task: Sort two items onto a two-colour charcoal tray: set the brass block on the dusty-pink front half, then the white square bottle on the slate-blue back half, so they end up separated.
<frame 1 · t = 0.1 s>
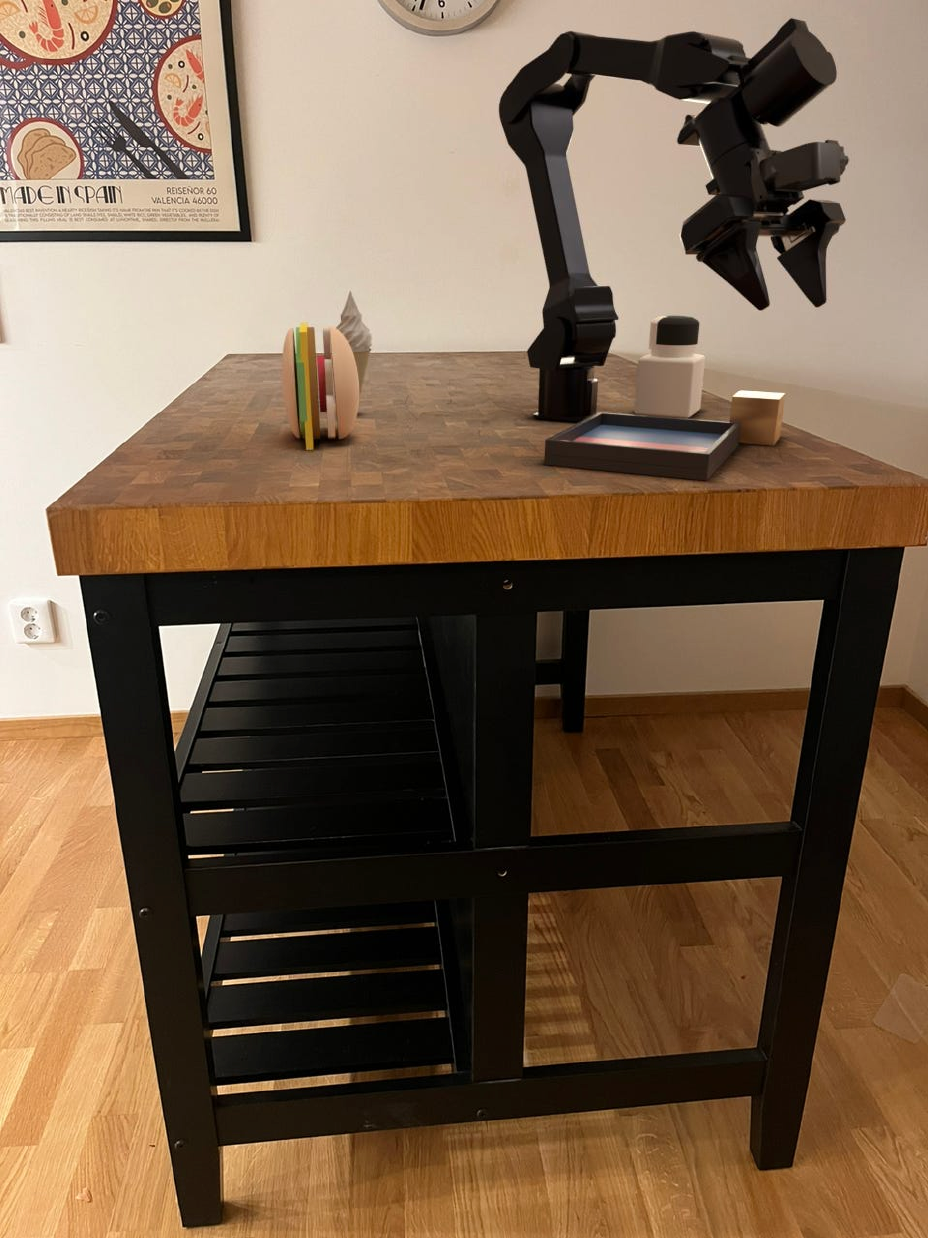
hand: (793, 306, 89), 15 cm above the table, tool tilted 30°, fingers open, 9 cm apart
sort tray: (645, 454, 97), on the table
white square bottle: (667, 414, 121), on the table
ice cream cone: (354, 416, 119), on the table
hamburger: (324, 440, 104), on the table
brass block: (753, 439, 104), on the table
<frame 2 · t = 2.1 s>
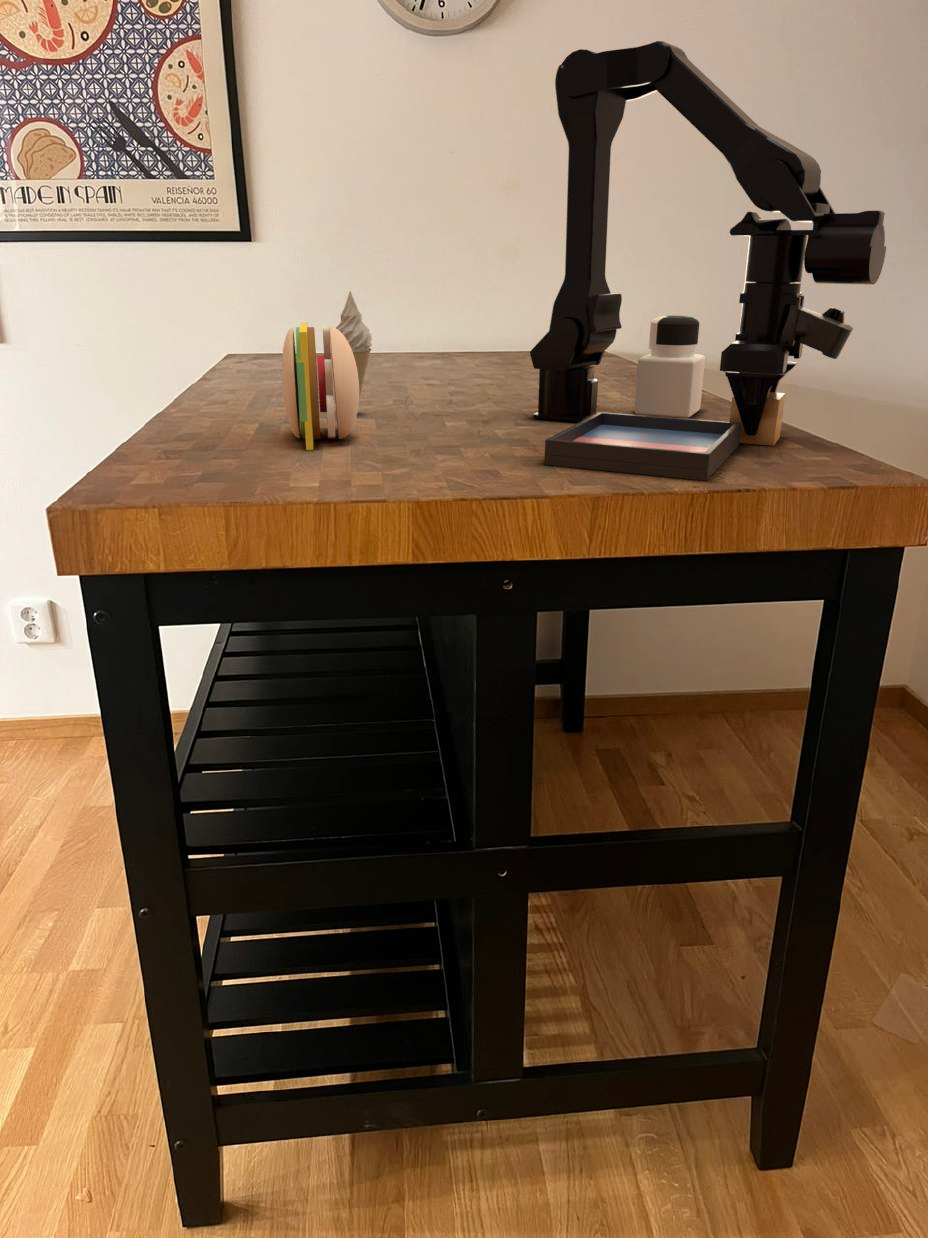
hand: (755, 430, 104), 1 cm above the table, tool pointing down, fingers open, 6 cm apart
nothing on the table moved.
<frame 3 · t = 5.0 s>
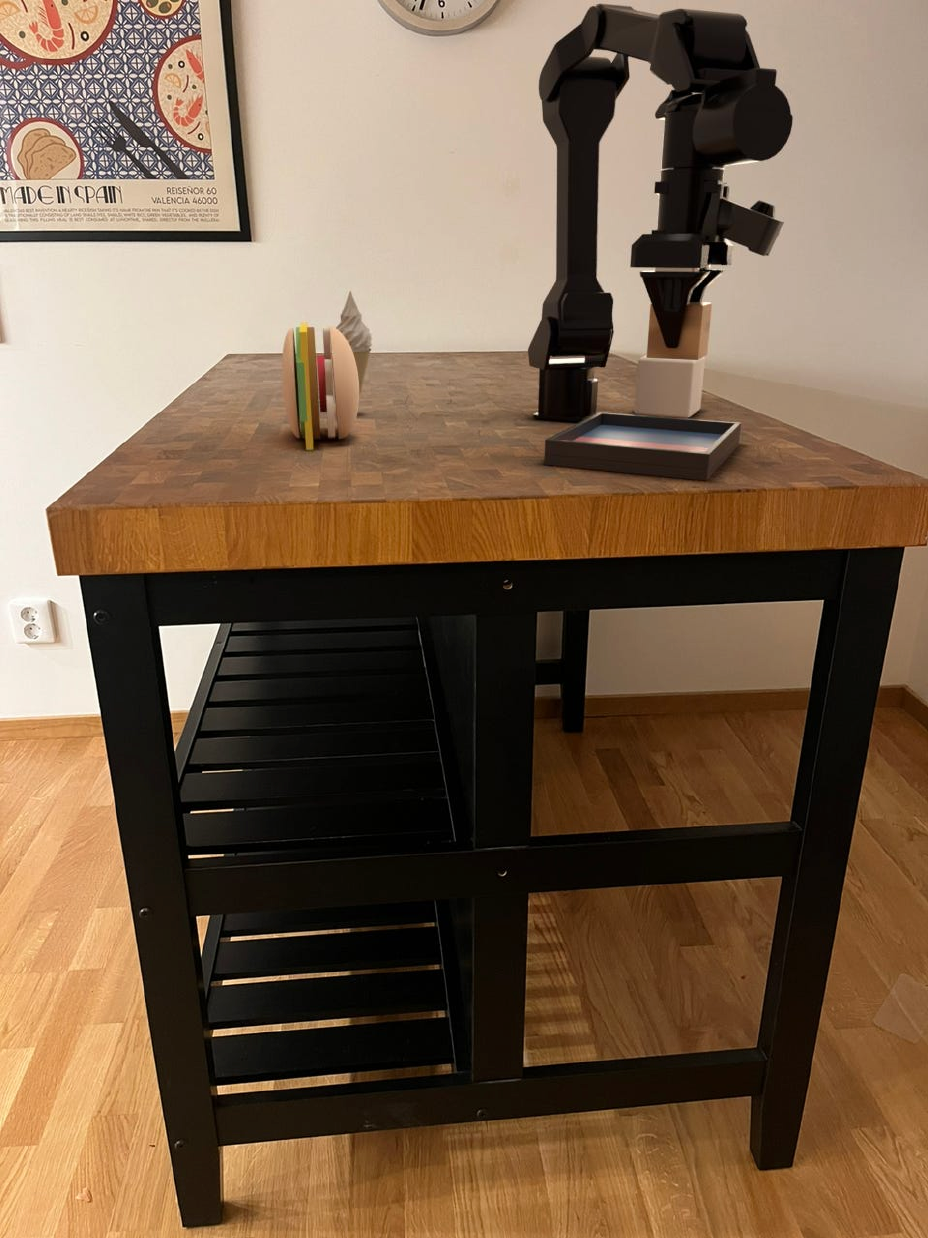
hand: (677, 345, 92), 11 cm above the table, tool pointing down, fingers closed on brass block, 5 cm apart
brass block: (677, 356, 92), point 10 cm above the table, touching gripper
everything else where it was.
when the fingers open (2 cm above the table, at t = 7.9 s): brass block stays where it is, resting on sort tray.
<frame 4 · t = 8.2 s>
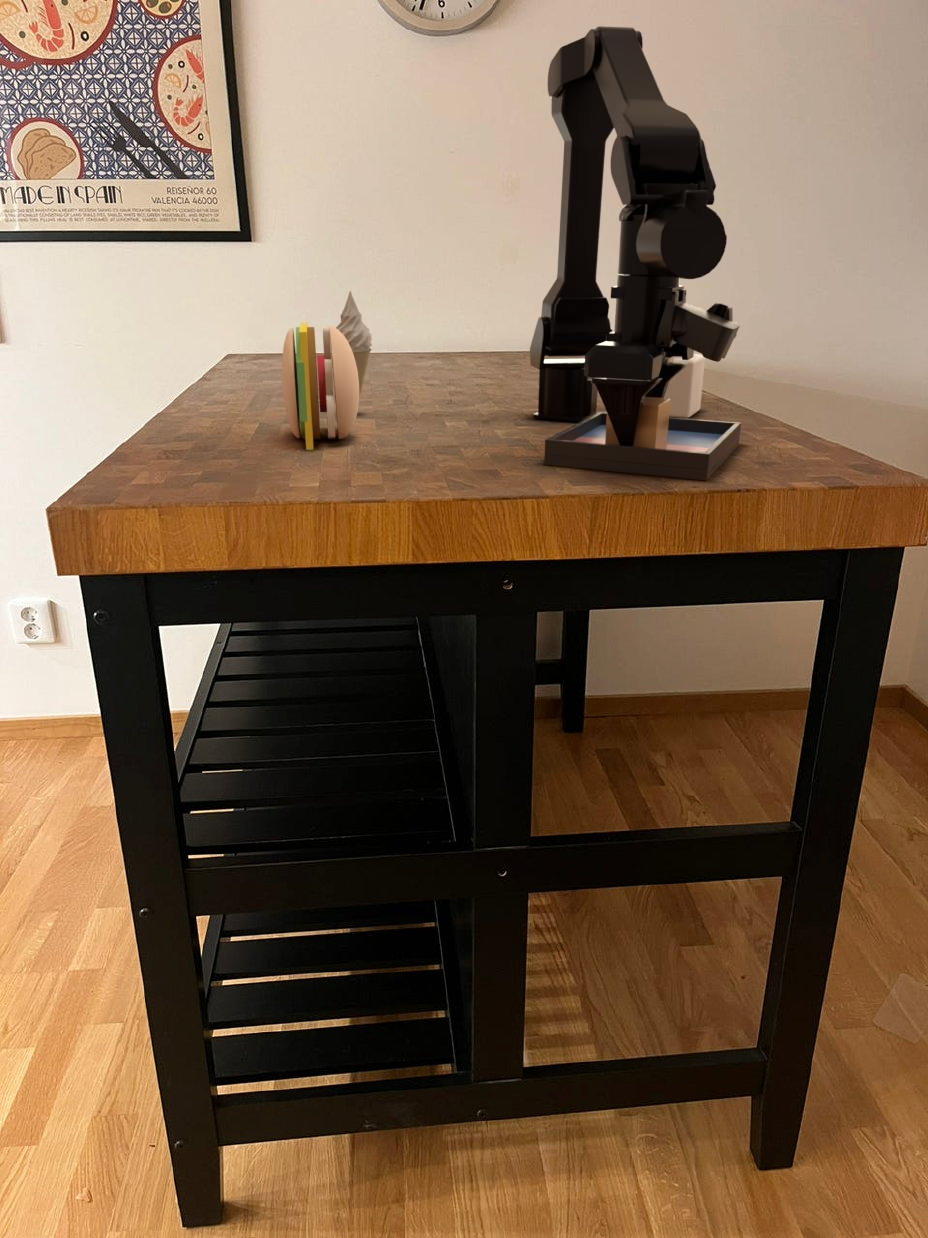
hand: (637, 441, 92), 2 cm above the table, tool pointing down, fingers open, 7 cm apart
brass block: (635, 451, 93), point 1 cm above the table, touching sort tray
everything else where it was.
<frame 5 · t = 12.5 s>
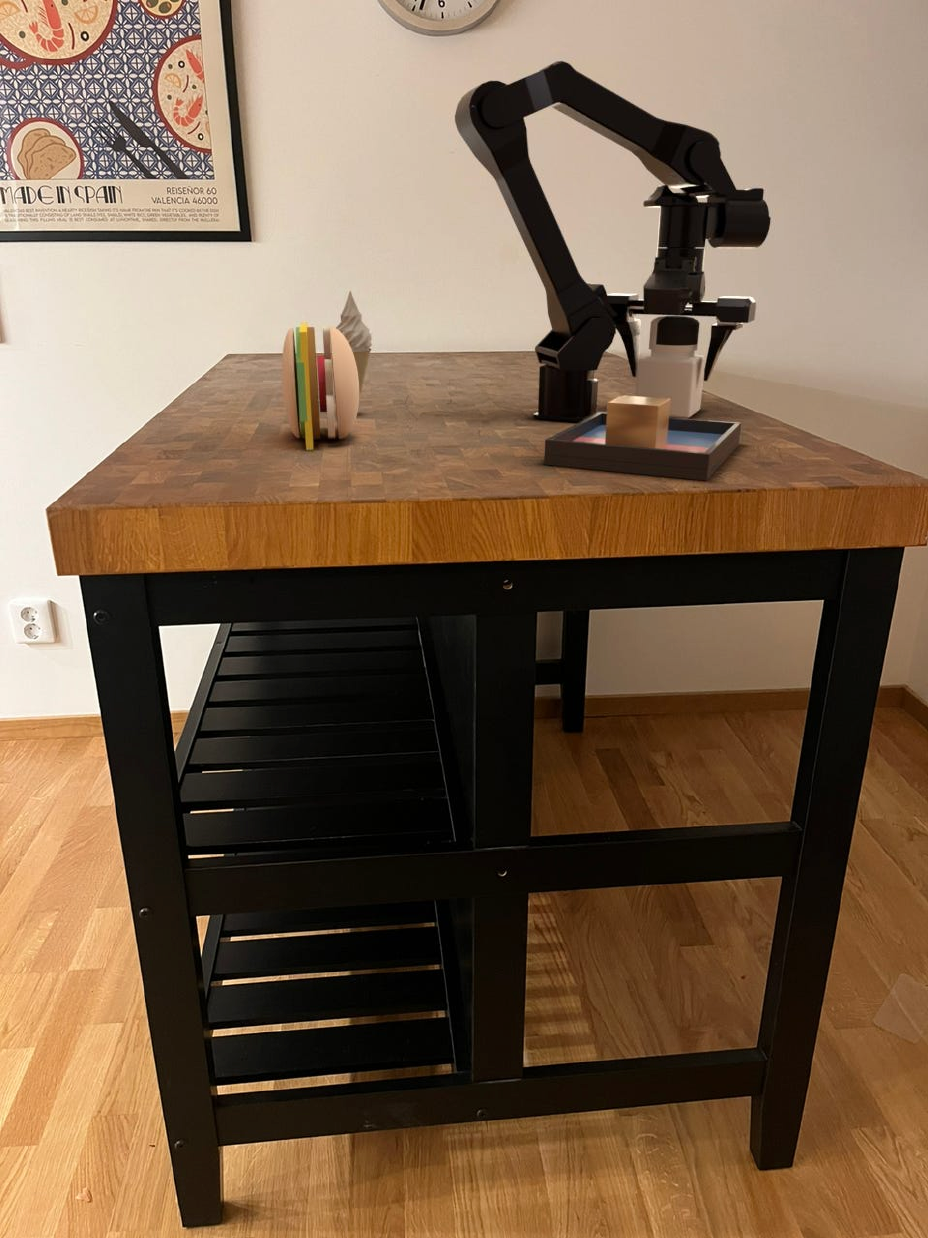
hand: (669, 378, 119), 4 cm above the table, tool pointing down
white square bottle: (667, 414, 121), on the table, touching gripper
everything else where it was.
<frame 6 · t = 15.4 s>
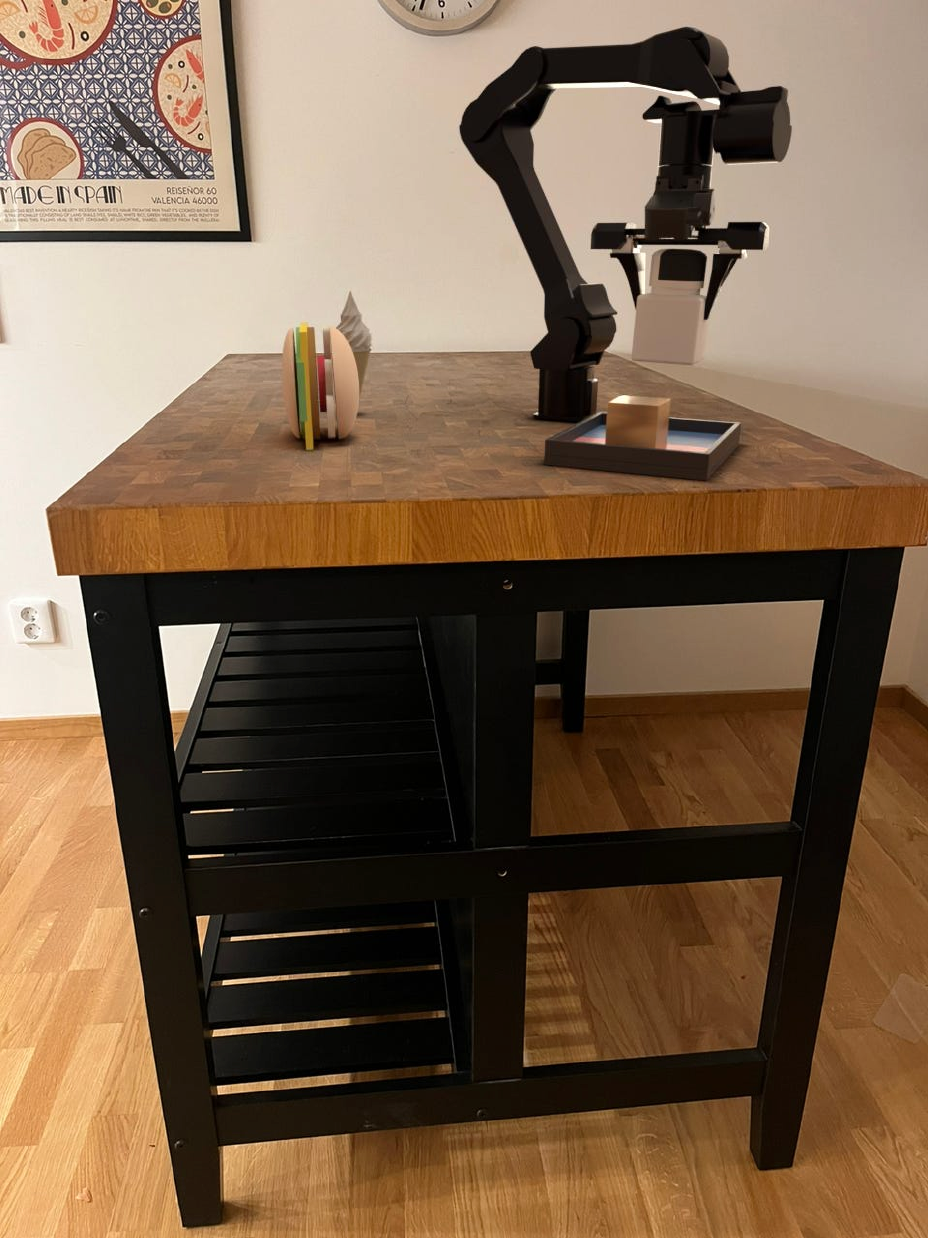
hand: (672, 318, 106), 13 cm above the table, tool pointing down, fingers closed on white square bottle, 7 cm apart
white square bottle: (667, 361, 108), point 8 cm above the table, touching gripper
everything else where it was.
when the fingers open (6 cm above the table, at t = 18.3 s): white square bottle stays where it is, resting on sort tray.
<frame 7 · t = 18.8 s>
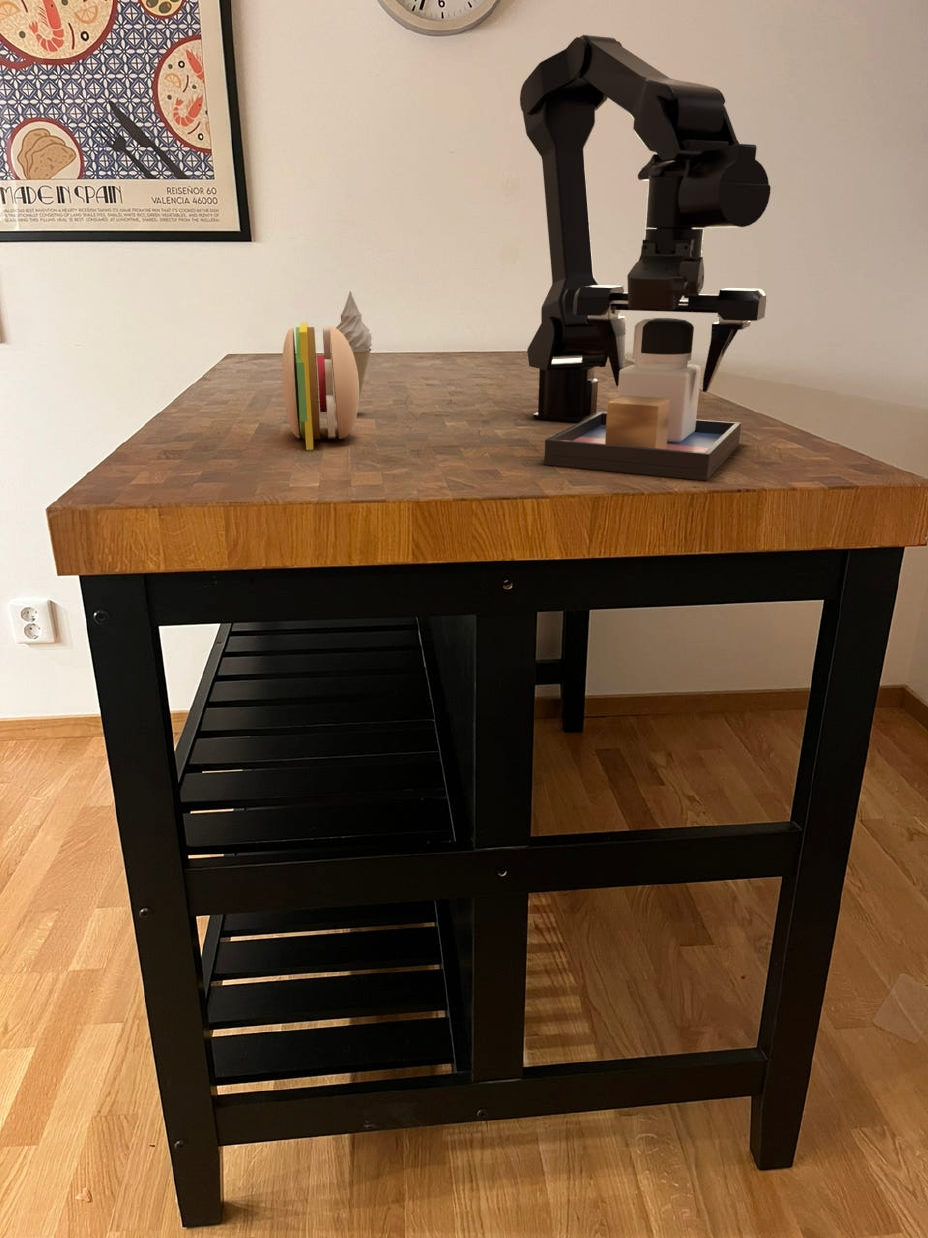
hand: (661, 388, 98), 6 cm above the table, tool pointing down, fingers open, 9 cm apart
white square bottle: (655, 436, 100), point 1 cm above the table, touching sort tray
everything else where it was.
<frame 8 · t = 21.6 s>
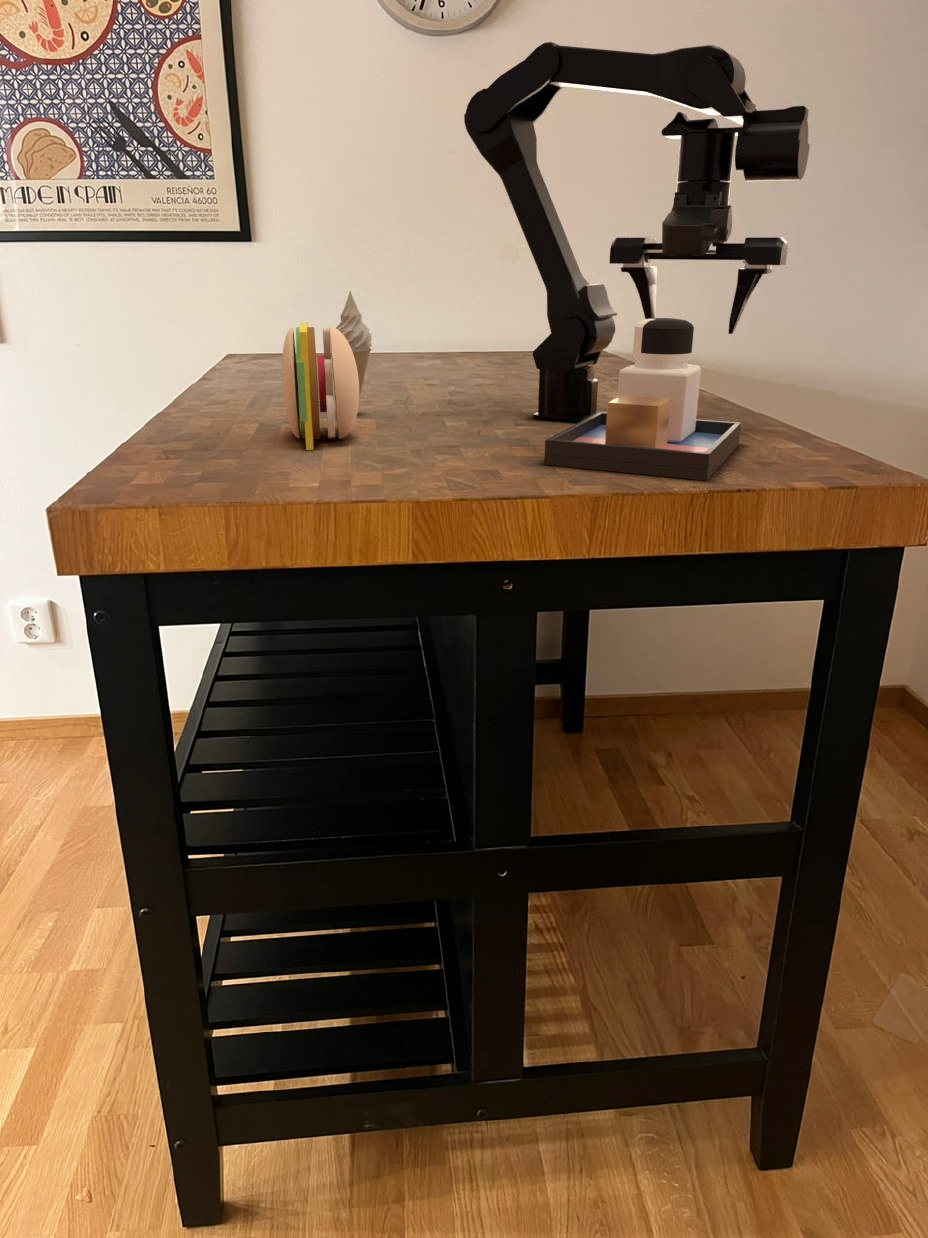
hand: (690, 332, 107), 11 cm above the table, tool pointing down, fingers open, 9 cm apart
nothing on the table moved.
at the end: brass block inside the target area on the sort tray (0.5 cm from its centre), point 1.2 cm above the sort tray's base; white square bottle inside the target area on the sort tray (0.5 cm from its centre), point 1.0 cm above the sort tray's base; white square bottle tilted 0° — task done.
